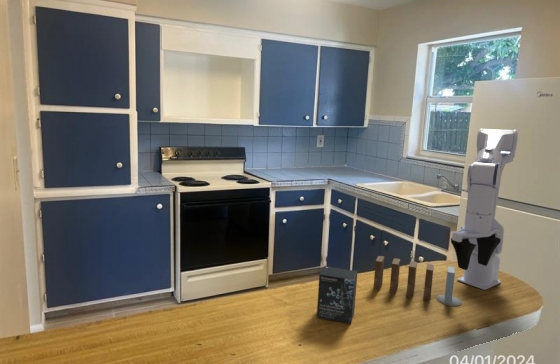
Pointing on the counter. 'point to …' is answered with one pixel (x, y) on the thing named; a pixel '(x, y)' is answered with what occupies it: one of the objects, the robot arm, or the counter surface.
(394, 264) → the domino
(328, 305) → the box
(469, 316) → the counter surface
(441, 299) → the disc
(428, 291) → the domino
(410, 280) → the domino
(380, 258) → the domino
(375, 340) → the counter surface
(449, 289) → the domino head
